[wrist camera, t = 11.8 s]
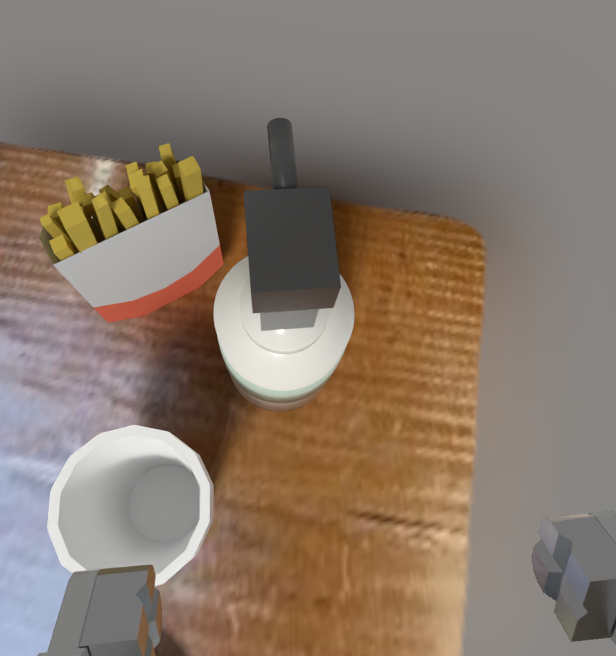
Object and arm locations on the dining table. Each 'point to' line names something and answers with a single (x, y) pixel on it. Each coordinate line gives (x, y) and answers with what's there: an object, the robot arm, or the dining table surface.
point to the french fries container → (136, 238)
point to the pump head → (290, 236)
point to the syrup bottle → (279, 344)
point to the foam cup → (131, 503)
